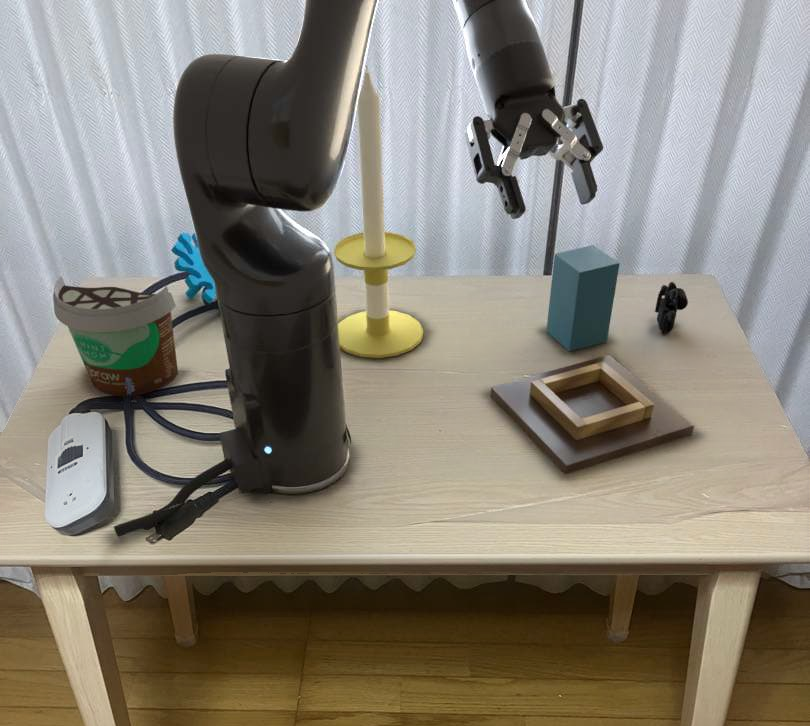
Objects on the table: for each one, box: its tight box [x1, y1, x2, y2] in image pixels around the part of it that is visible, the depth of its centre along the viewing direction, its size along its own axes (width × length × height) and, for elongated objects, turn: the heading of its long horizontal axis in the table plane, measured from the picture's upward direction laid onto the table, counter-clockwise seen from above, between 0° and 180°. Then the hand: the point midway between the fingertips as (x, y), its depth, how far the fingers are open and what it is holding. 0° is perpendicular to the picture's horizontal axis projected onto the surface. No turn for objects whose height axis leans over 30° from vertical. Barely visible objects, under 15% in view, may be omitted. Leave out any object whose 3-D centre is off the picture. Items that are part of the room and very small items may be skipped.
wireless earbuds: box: [654, 281, 689, 336], centre depth 94 cm, size 7×2×5 cm, turn 176°
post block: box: [545, 244, 621, 352], centre depth 91 cm, size 5×5×9 cm
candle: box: [333, 64, 424, 359], centre depth 86 cm, size 10×10×27 cm
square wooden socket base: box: [490, 354, 695, 475], centre depth 83 cm, size 14×14×2 cm
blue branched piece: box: [170, 232, 216, 304], centre depth 101 cm, size 11×6×10 cm
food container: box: [52, 276, 179, 397], centre depth 85 cm, size 12×6×10 cm, turn 77°
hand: (554, 208), depth 91 cm, fingers open, 8 cm apart
